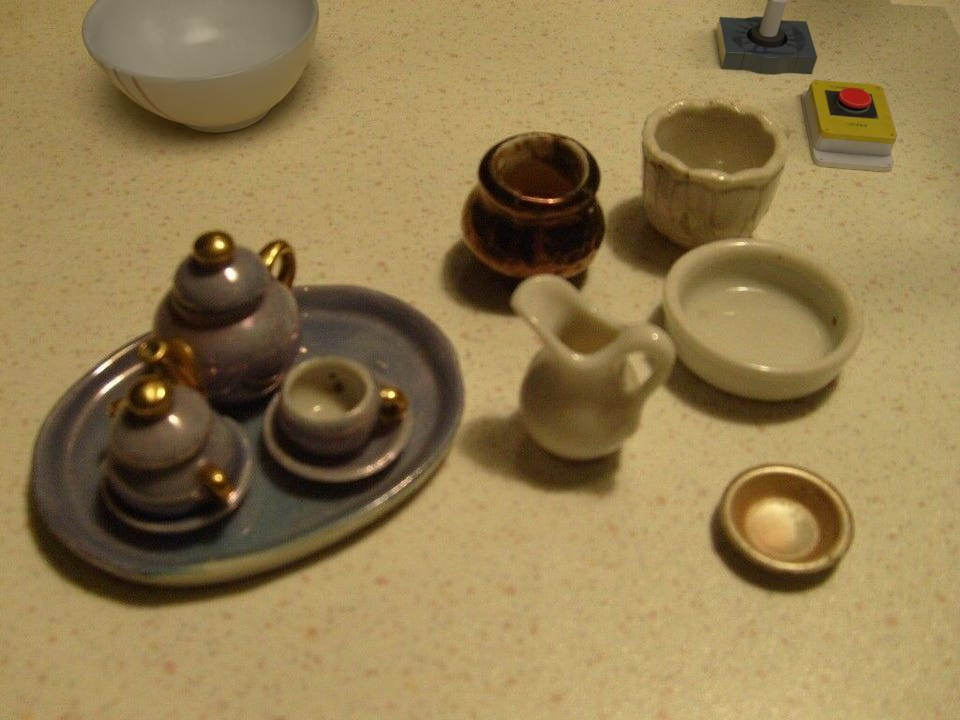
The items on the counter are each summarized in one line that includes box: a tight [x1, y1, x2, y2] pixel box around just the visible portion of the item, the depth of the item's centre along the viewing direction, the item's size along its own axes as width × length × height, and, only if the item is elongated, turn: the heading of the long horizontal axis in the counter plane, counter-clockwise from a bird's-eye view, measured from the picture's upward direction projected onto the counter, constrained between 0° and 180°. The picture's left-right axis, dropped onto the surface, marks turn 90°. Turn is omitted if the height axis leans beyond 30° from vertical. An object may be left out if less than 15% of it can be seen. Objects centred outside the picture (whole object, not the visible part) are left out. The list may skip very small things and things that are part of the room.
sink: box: [715, 16, 818, 75], centre depth 117 cm, size 12×10×2 cm
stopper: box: [749, 0, 788, 48], centre depth 115 cm, size 4×4×8 cm
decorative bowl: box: [81, 0, 320, 134], centre depth 104 cm, size 27×27×12 cm
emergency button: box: [800, 79, 898, 173], centre depth 105 cm, size 9×4×15 cm
